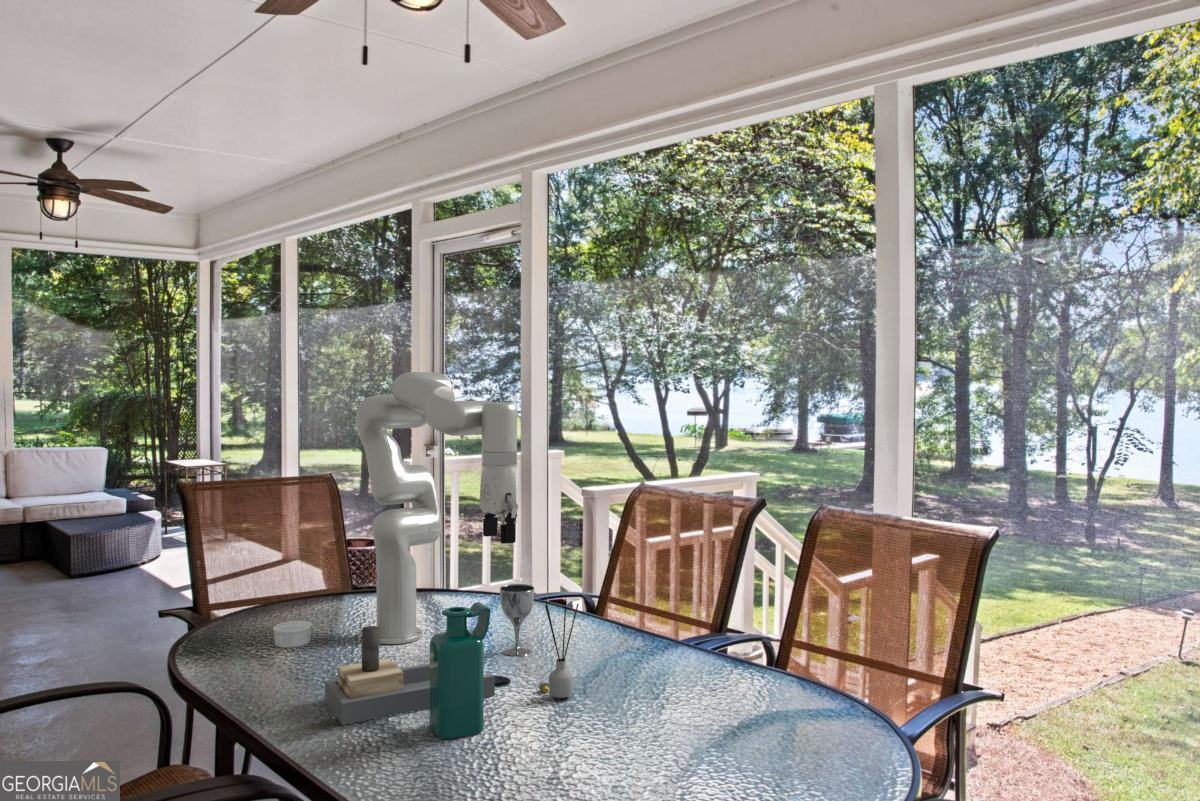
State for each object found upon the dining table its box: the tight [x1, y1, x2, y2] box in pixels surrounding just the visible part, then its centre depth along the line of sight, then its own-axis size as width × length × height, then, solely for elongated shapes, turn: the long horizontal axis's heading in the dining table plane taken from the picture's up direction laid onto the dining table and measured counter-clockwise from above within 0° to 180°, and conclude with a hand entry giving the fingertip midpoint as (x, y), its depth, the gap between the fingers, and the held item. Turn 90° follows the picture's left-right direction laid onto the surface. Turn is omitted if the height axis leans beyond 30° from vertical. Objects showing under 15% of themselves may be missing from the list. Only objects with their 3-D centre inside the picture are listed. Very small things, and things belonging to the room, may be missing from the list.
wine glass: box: [499, 583, 535, 657], centre depth 199 cm, size 8×8×15 cm
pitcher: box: [429, 601, 491, 740], centre depth 154 cm, size 10×8×22 cm
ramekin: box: [272, 620, 313, 649], centre depth 205 cm, size 9×9×4 cm
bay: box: [324, 662, 496, 726], centre depth 169 cm, size 14×30×4 cm, turn 120°
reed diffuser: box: [538, 596, 579, 699], centre depth 169 cm, size 10×7×20 cm
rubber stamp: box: [337, 625, 404, 699], centre depth 165 cm, size 10×10×14 cm
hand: (498, 539), depth 183 cm, fingers open, 9 cm apart
